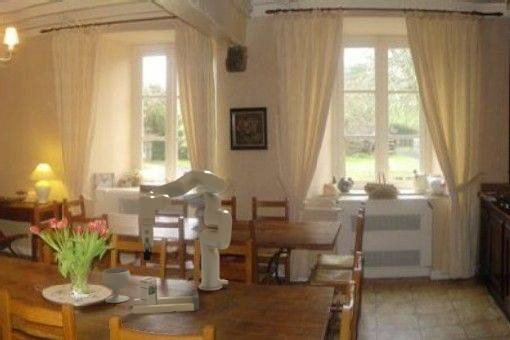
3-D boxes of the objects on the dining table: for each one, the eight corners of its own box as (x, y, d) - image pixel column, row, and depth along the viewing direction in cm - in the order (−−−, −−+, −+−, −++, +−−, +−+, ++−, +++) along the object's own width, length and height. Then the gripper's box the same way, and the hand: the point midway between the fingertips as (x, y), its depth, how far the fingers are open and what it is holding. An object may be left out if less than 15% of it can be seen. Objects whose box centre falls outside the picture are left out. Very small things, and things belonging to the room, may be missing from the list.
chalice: (123, 305, 269) (123, 274, 268) (97, 303, 272) (96, 273, 271) (135, 296, 283) (135, 267, 282) (110, 295, 286) (109, 266, 285)
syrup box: (148, 311, 261) (147, 280, 259) (139, 308, 264) (139, 278, 263) (157, 308, 265) (157, 278, 264) (148, 305, 269) (148, 276, 268)
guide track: (197, 301, 275) (197, 289, 274) (198, 310, 262) (198, 297, 262) (134, 305, 270) (134, 292, 269) (132, 313, 257) (132, 301, 257)
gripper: (154, 224, 254) (155, 261, 255) (155, 218, 271) (155, 253, 272) (138, 225, 253) (138, 262, 254) (139, 219, 270) (140, 253, 271)
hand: (147, 257), depth 263 cm, fingers open, 9 cm apart
